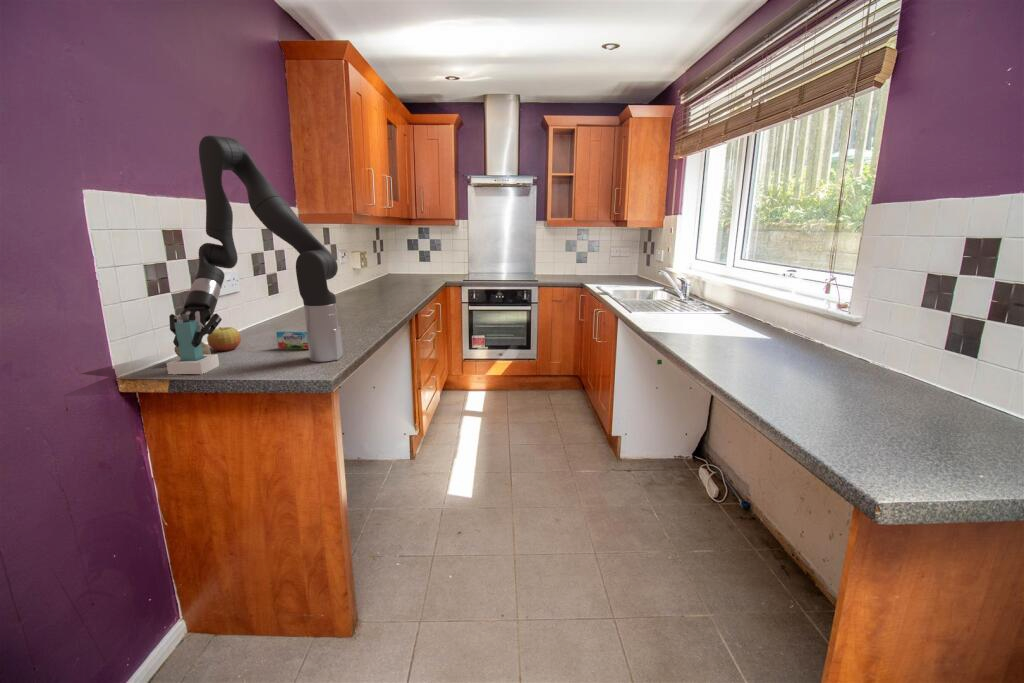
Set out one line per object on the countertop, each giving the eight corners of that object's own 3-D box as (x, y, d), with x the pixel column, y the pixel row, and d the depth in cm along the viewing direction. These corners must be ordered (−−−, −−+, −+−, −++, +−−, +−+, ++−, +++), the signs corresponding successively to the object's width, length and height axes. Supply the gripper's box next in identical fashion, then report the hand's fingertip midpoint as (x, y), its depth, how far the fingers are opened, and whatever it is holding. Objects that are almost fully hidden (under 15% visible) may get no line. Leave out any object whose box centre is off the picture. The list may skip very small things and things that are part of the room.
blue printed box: (278, 349, 160) (276, 331, 158) (281, 348, 161) (278, 330, 160) (311, 350, 158) (309, 332, 157) (314, 349, 160) (312, 331, 158)
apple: (202, 353, 156) (198, 329, 154) (221, 346, 165) (218, 323, 163) (230, 353, 155) (226, 329, 153) (248, 346, 164) (245, 323, 163)
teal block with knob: (203, 357, 137) (196, 313, 134) (195, 361, 133) (188, 315, 130) (189, 357, 137) (182, 313, 134) (181, 361, 133) (173, 316, 130)
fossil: (169, 347, 139) (192, 333, 148) (163, 357, 140) (187, 342, 149) (196, 365, 141) (217, 350, 150) (190, 375, 142) (212, 359, 152)
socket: (219, 365, 140) (217, 354, 139) (202, 374, 131) (200, 362, 131) (187, 366, 140) (185, 355, 139) (168, 375, 131) (166, 363, 130)
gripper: (171, 289, 137) (151, 339, 128) (222, 288, 138) (205, 338, 129) (185, 304, 143) (166, 353, 134) (233, 304, 145) (218, 352, 136)
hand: (185, 345), depth 132 cm, fingers closed on teal block with knob, 4 cm apart
